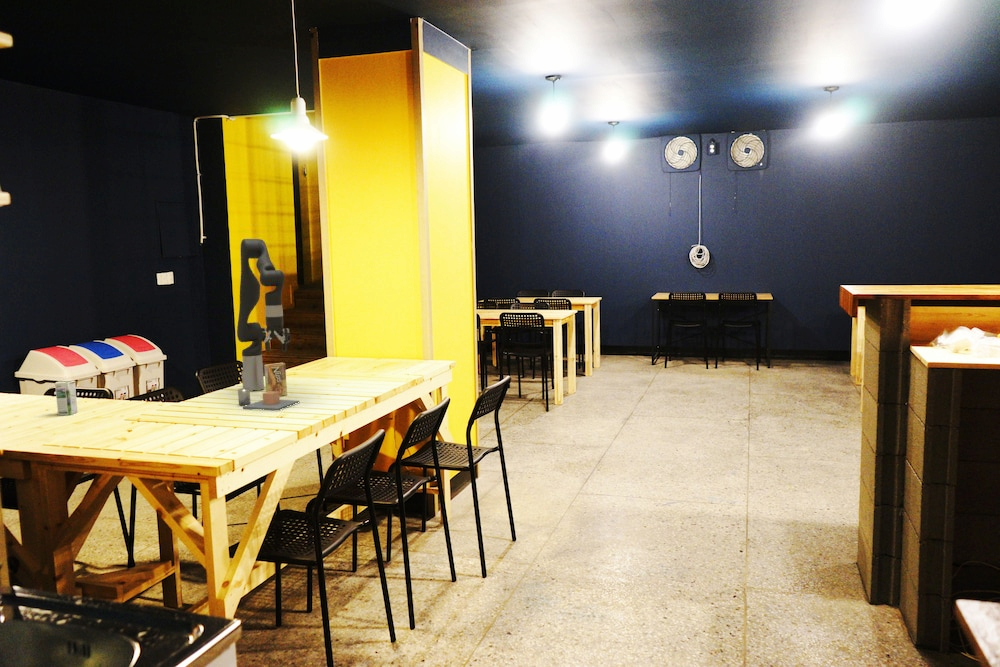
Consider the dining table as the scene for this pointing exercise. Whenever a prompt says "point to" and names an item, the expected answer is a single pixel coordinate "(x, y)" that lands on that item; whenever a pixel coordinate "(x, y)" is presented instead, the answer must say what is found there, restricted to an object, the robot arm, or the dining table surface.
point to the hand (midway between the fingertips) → (276, 351)
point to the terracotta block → (271, 398)
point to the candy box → (276, 378)
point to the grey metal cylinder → (244, 396)
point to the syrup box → (66, 397)
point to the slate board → (270, 407)
